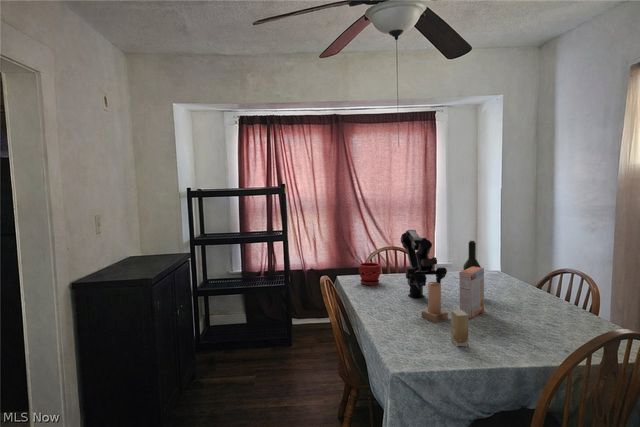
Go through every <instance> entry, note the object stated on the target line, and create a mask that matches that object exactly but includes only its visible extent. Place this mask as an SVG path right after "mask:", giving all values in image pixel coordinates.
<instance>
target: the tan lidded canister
mask: <svg viewBox="0 0 640 427" xmlns="http://www.w3.org/2000/svg"><path fill="white" fill-rule="evenodd" d="M427 310H428V312H429V313H433V314H439V313H441V311H442V284H441V283H438V282H437V281H430V282H428V283H427Z"/></svg>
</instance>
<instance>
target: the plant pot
mask: <svg viewBox="0 0 640 427" xmlns="http://www.w3.org/2000/svg"><path fill="white" fill-rule="evenodd" d="M381 267H382V266H381V264H380V263H377V262H361V263H359V265H358V272H359V277H360V280H359V281H360V283H361V284H363V285H365V286H375V285H377V284H379V283H380V280H379V278H380V275H381Z"/></svg>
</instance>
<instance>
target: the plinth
mask: <svg viewBox="0 0 640 427" xmlns="http://www.w3.org/2000/svg"><path fill="white" fill-rule="evenodd" d="M448 314H449V312H446V311H444V310H441V313H439V314H433V313H429V312H428V309H426V310H422V311H421V318H422V319H424V320H427V321H430V322H432V323H439V322H442V321H446V320H449V318H448V317H449V316H448Z"/></svg>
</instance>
